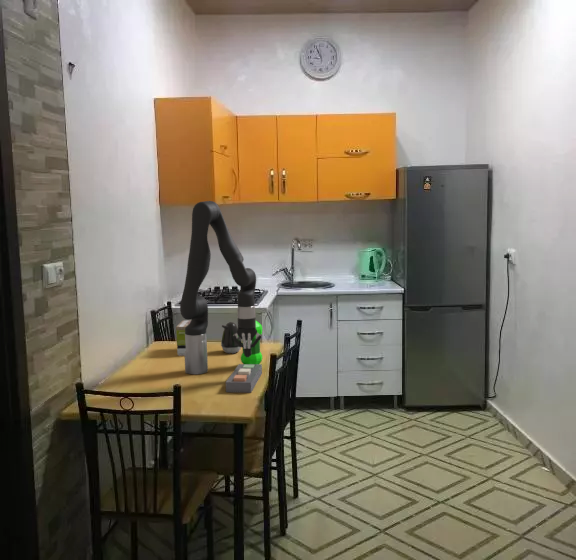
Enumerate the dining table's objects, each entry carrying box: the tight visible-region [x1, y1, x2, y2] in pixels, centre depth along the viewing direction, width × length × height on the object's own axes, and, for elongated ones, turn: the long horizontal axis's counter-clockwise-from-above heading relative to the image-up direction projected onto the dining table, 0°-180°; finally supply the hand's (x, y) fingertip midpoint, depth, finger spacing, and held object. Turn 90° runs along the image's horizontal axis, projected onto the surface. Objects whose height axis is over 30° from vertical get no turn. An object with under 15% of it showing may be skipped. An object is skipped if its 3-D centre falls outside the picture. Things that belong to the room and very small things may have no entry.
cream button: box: [238, 368, 251, 375], centre depth 248 cm, size 4×4×3 cm
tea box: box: [175, 319, 192, 357], centre depth 300 cm, size 15×10×15 cm, turn 178°
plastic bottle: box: [240, 320, 263, 364], centre depth 271 cm, size 10×10×25 cm
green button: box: [243, 365, 255, 369], centre depth 257 cm, size 4×4×3 cm
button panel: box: [225, 363, 263, 394], centre depth 249 cm, size 10×26×4 cm, turn 173°
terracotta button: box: [234, 375, 247, 382], centre depth 239 cm, size 4×4×3 cm
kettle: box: [220, 321, 242, 354], centre depth 297 cm, size 10×10×15 cm
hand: (247, 356), depth 254 cm, fingers closed
